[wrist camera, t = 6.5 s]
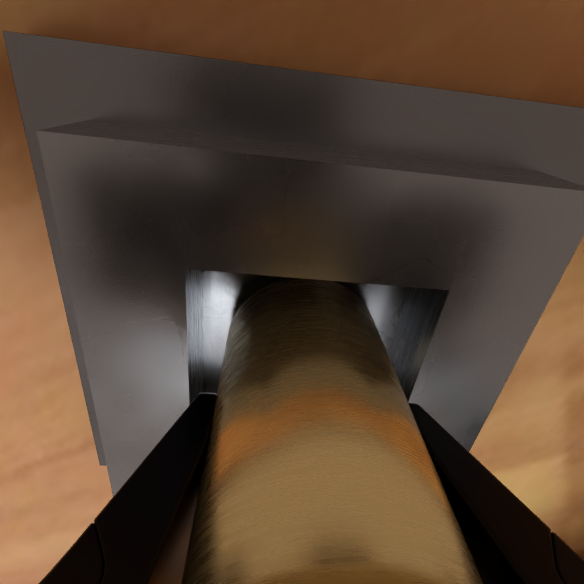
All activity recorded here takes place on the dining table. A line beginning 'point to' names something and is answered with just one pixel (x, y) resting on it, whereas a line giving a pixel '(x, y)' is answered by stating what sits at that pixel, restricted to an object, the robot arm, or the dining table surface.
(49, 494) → the dining table surface
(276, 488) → the bushing
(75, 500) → the dining table surface
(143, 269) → the plate
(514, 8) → the dining table surface
